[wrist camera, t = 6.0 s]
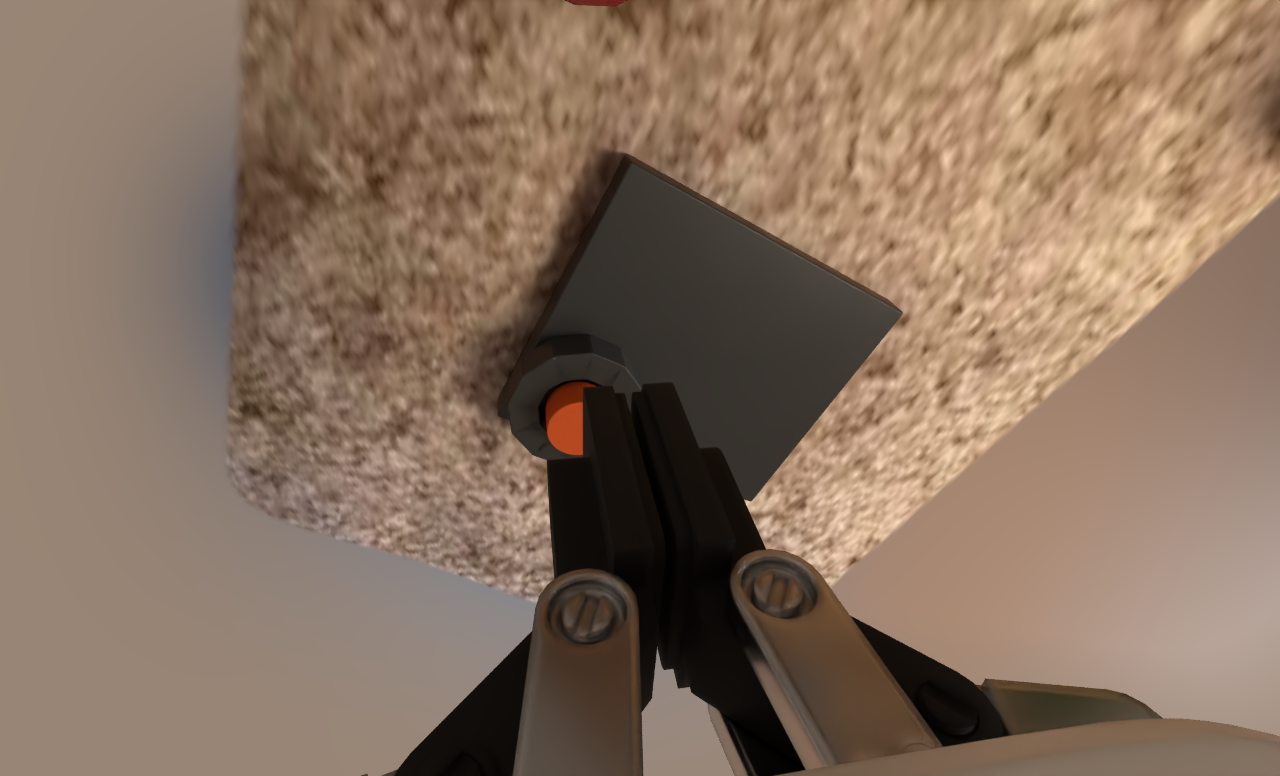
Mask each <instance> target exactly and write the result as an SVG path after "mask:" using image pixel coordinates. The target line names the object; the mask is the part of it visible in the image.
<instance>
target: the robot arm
mask: <svg viewBox="0 0 1280 776" xmlns="http://www.w3.org/2000/svg"><path fill="white" fill-rule="evenodd" d="M547 473H548V495H549V512H550V528H551V541H552V554H553V567H554V579H555V580H553V581H552V582H550V583H549V584H548V585H547V586H546V588H545V589H544V590H543V592H542V593H541V594H540V596H539V599H538V602H537V605H536V608H535V615H534V622H533V630H532V632H531V633H530V634H529V635H528V636H527V637H526V638H525V639H524V640H523V641H522V642H521V643H520V644H519V645H518V646H517V647H516V648H515V649H514V650H513V651H512V652H511V653H510V654H509V655H508V656H507V657H506V658H505V659H504V660H503V661H502V662H501V663H500V664H499V665H498V666H497V667H496V668H495V669H494V670H493V671H492V672H491V673H490V674H489V675H488V676H487V677H486V678H485V679H484V680H483V681H482V682H481V683H480V684H479V685H478V686H477V687H476V688H475V689H474V690H473V691H472V692H471V693H470V694H469V695H468V696H467V697H466V698H465V699H464V700H463V701H462V702H461V703H460V704H459V705H458V706H457V707H456V708H455V709H454V710H453V711H452V712H451V713H450V714H449V715H448V716H447V717H446V718H445V719H444V720H443V721H442V722H441V723H440V724H439V725H438V726H437V727H436V728H435V729H434V730H433V731H432V732H431V733H430V734H429V735H428V736H427V737H426V738H425V739H424V740H423V741H422V742H421V743H420V744H419V745H418V746H417V747H416V748H415V750H413V751H412V752H411V753H410V755H409V756H408V757H407V759H406V760H405V761H404V762H403V764H402V765H401V766H400V767H399V769H398V770H395V771H393V772H390V773H387V774H385V775H383V776H643V749H642V715H641V712H642V711H643V710H644V708H645V707H646V706H647V704H648V703H649V701H650V700H651V699H652V691H653V681H654V670H655V663H656V653H657V652H656V651H657V647H658V652H659V656H660V661H661V665H662V667H663V669H664V670H667V669H674V673H675V677H676V681H677V686H678V688H685V687H690V689H691V692H692V693H693V694H694V695H696V696H697V697H699V698H700V699H702V700H704V701H705V702H707V703H708V711H709V714H710V719H711V722H712V724H713V726H714V729H715V731H716V733H717V735H718V738H719V740H720V743H721V745H722V747H723V749H724V752H725V754H726V757H727V759H728V761H729V764H730V765H731V768H732V770H733V773H734V775H735V776H1280V737H1279V736H1276V735H1273V734H1268V733H1264V732H1260V731H1255V730H1251V729H1247V728H1243V727H1238V726H1234V725H1229V724H1222V723H1216V722H1209V721H1200V720H1189V719H1163V718H1162V717H1161V716H1159V715H1158V714H1157V713H1156V712H1154V711H1153V710H1152V709H1151V708H1149V707H1148V706H1147V705H1145V704H1144V703H1142V702H1140V701H1138V700H1136V699H1134V698H1132V697H1130V696H1129V695H1127V694H1124V693H1119V692H1115V691H1112V690H1107V689H1095V688H1085V687H1073V686H1062V685H1051V684H1039V683H1029V682H1017V681H1006V680H995V679H985V680H984V682H983V684H982V685H975V684H974V683H973V682H972V681H970V680H969V679H967V678H966V677H964V676H962V675H961V674H959V673H958V672H956V671H954V670H952V669H951V668H949V667H947V666H945V665H943V664H941V663H939V662H937V661H935V660H934V659H932V658H929V657H928V656H926V655H924V654H922V653H920V652H918V651H916V650H915V649H913V648H911V647H909V646H907V645H905V644H903V643H901V642H899V641H897V640H895V639H893V638H892V637H890V636H888V635H886V634H884V633H882V632H880V631H878V630H876V629H875V628H873V627H871V626H869V625H867V624H865V623H863V622H861V621H859V620H857V619H856V618H854V617H851V616H850V615H849V614H848V612H847V611H846V610H845V608H844V607H843V605H842V604H841V602H840V601H839V600H838V598H837V597H836V595H835V594H834V593H833V591H832V590H831V588H830V587H829V585H828V584H827V583H826V581H825V580H824V578H823V577H822V576H821V574H820V573H819V572H818V571H817V570H816V569H815V568H814V567H813V566H812V565H811V564H809V563H808V562H806V561H805V560H803V559H802V558H800V557H799V556H796V555H794V554H791V553H788V552H786V551H780V550H773V549H766V548H765V546H764V544H763V541H762V539H761V537H760V535H759V533H758V530H757V528H756V526H755V524H754V521H753V519H752V517H751V515H750V512H749V510H748V508H747V506H746V503H745V501H744V499H743V497H742V495H741V492H740V490H739V488H738V486H737V483H736V481H735V479H734V477H733V474H732V472H731V470H730V468H729V465H728V463H727V461H726V459H725V457H724V454H723V453H722V451H721V449H719V448H718V447H710V448H699V446H698V443H697V441H696V438H695V436H694V433H693V431H692V429H691V426H690V424H689V421H688V419H687V416H686V414H685V411H684V409H683V406H682V404H681V401H680V399H679V396H678V394H677V391H676V389H675V386H674V384H673V383H672V382H665V383H648V384H643V385H642V389H641V392H633V393H632V396H631V414H630V410H629V407H628V403H627V400H626V396H625V393H615V392H614V388H613V386H596V387H583V457H580V458H567V459H554V460H547ZM362 776H368V774H365V775H362Z"/></svg>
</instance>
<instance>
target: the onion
mask: <svg viewBox="0 0 1280 776" xmlns="http://www.w3.org/2000/svg"><path fill="white" fill-rule="evenodd" d="M565 1H568V2H570V3H572V4H574V5H593V6H617V5H619V4H621V3H623V2H625V1H627V0H565Z"/></svg>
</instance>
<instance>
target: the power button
mask: <svg viewBox="0 0 1280 776" xmlns="http://www.w3.org/2000/svg"><path fill="white" fill-rule="evenodd" d="M583 387H596V386H595V385H593V384H590V383H587V382H570V383H567V384H564V385H562V386H560V387H558V388H557V389H556V390H554V391H553V392H552V394H551V395H550V396H549V398H548V400H547V402H546V406H545V413H546V427H547V436H548V438H549V440H550V442H551V443H552V445H553V446H554V447H555V448H557V449H558V450H560V451H562V452H564V453H567V454H571V455H583Z"/></svg>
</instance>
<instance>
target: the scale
mask: <svg viewBox="0 0 1280 776" xmlns="http://www.w3.org/2000/svg"><path fill="white" fill-rule="evenodd" d="M902 314H903V312H902V311H901V310H900V309H899V308H897V307H896V306H895V305H894V304H893V303H892V302H890V301H889V300H888V299H886V298H884V297H883V296H881V295H879V294H877V293H875V292H874V291H872V290H870V289H868V288H866V287H865V286H863V285H861V284H859V283H858V282H856V281H854V280H852V279H850V278H849V277H847V276H845V275H843V274H841V273H840V272H838V271H836V270H834V269H833V268H831V267H829V266H827V265H825V264H824V263H822V262H820V261H818V260H816V259H815V258H813V257H811V256H809V255H808V254H806V253H804V252H802V251H800V250H799V249H797V248H795V247H793V246H791V245H790V244H788V243H786V242H784V241H783V240H781V239H779V238H777V237H775V236H774V235H772V234H770V233H768V232H766V231H765V230H763V229H761V228H759V227H758V226H756V225H754V224H752V223H750V222H749V221H747V220H745V219H743V218H741V217H740V216H738V215H736V214H734V213H733V212H731V211H729V210H727V209H725V208H724V207H722V206H720V205H718V204H716V203H715V202H713V201H711V200H709V199H707V198H706V197H704V196H702V195H700V194H699V193H697V192H695V191H693V190H691V189H690V188H688V187H686V186H684V185H682V184H681V183H679V182H677V181H675V180H674V179H672V178H670V177H668V176H666V175H665V174H663V173H661V172H659V171H657V170H656V169H654V168H652V167H650V166H649V165H647V164H645V163H643V162H641V161H640V160H638V159H636V158H634V157H632V156H631V155H629V154H625V155H624V157H623V159H622V161H621V163H620V165H619V167H618V169H617V171H616V173H615V175H614V177H613V178H612V180H611V182H610V184H609V186H608V188H607V190H606V192H605V194H604V196H603V198H602V200H601V202H600V203H599V205H598V207H597V209H596V211H595V213H594V215H593V217H592V219H591V221H590V223H589V225H588V226H587V228H586V230H585V232H584V234H583V236H582V238H581V240H580V242H579V244H578V246H577V248H576V250H575V251H574V253H573V255H572V257H571V259H570V261H569V263H568V265H567V267H566V269H565V271H564V273H563V274H562V276H561V278H560V280H559V282H558V284H557V286H556V288H555V290H554V292H553V294H552V296H551V298H550V299H549V301H548V303H547V305H546V307H545V309H544V311H543V313H542V315H541V317H540V319H539V321H538V322H537V324H536V326H535V328H534V330H533V332H532V334H531V336H530V338H529V340H528V342H527V344H526V346H525V347H524V349H523V351H522V353H521V355H520V357H519V359H518V361H517V363H516V365H515V367H514V369H513V370H512V372H511V374H510V376H509V378H508V380H507V382H506V384H505V386H504V388H503V390H502V392H501V394H500V395H499V397H498V416H500V417H503V418H506V419H509V420H510V425H511V432H512V434H513V435H514V436H515V437H516V438H517V439H518V440H519V441H520V442H521V443H522V444H523V445H524V446H525V448H526V449H527V450H528V451H529V452H530V453H531V454H532V455H534V456H537V457H540V458H543V459H546V460H554V459H567V458H580V457H583V455H571V454H567V453H564V452H562V451H560V450H558V449H557V448H555V447H554V446H553V445H552V443H551V442H550V440H549V438H548V436H547V427H546V413H545V406H546V402H547V400H548V398H549V396H550V395H551V394H552V392H553V391H554V390H556V389H557V388H558V387H560V386H562V385H564V384H567V383H570V382H587V383H590V384H593V385H595V386H613V388H614V392H615V393H625V396H626V400H627V403H628V407H629V410H630V414H631V396H632V393H633V392H641V389H642V385H643V384H648V383H665V382H672V383H673V384H674V386H675V389H676V391H677V394H678V396H679V399H680V401H681V404H682V406H683V409H684V411H685V414H686V416H687V419H688V421H689V424H690V426H691V429H692V431H693V433H694V436H695V438H696V441H697V443H698V446H699V448H710V447H718V448H719V449H721V451H722V453H723V454H724V457H725V459H726V461H727V463H728V465H729V468H730V470H731V472H732V474H733V477H734V479H735V481H736V483H737V486H738V488H739V490H740V492H741V495H742V497H743V499H745V500H748V501H752V500H753V499H754V498H755V496H756V495H757V494H758V493H759V491H760V490H761V489H762V488H763V486H764V485H765V484H766V483H767V482H768V480H769V479H770V478H771V477H772V475H773V474H774V473H775V472H776V470H777V469H778V468H779V467H780V465H781V464H782V463H783V462H784V460H785V459H786V458H787V457H788V455H789V454H790V453H791V452H792V451H793V449H794V448H795V447H796V446H797V444H798V443H799V442H800V441H801V439H802V438H803V437H804V436H805V434H806V433H807V432H808V431H809V429H810V428H811V427H812V426H813V424H814V423H815V422H816V421H817V420H818V418H819V417H820V416H821V415H822V413H823V412H824V411H825V410H826V408H827V407H828V406H829V405H830V403H831V402H832V401H833V400H834V398H835V397H836V396H837V395H838V393H839V392H840V391H841V390H842V389H843V387H844V386H845V385H846V384H847V382H848V381H849V380H850V379H851V377H852V376H853V375H854V374H855V372H856V371H857V370H858V369H859V367H860V366H861V365H862V364H863V362H864V361H865V360H866V359H867V358H868V356H869V355H870V354H871V353H872V351H873V350H874V349H875V348H876V346H877V345H878V344H879V343H880V341H881V340H882V339H883V338H884V336H885V335H886V334H887V333H888V331H889V330H890V329H891V328H892V327H893V325H894V324H895V323H896V322H897V320H898V319H899V318H900V317H901V315H902Z"/></svg>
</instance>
